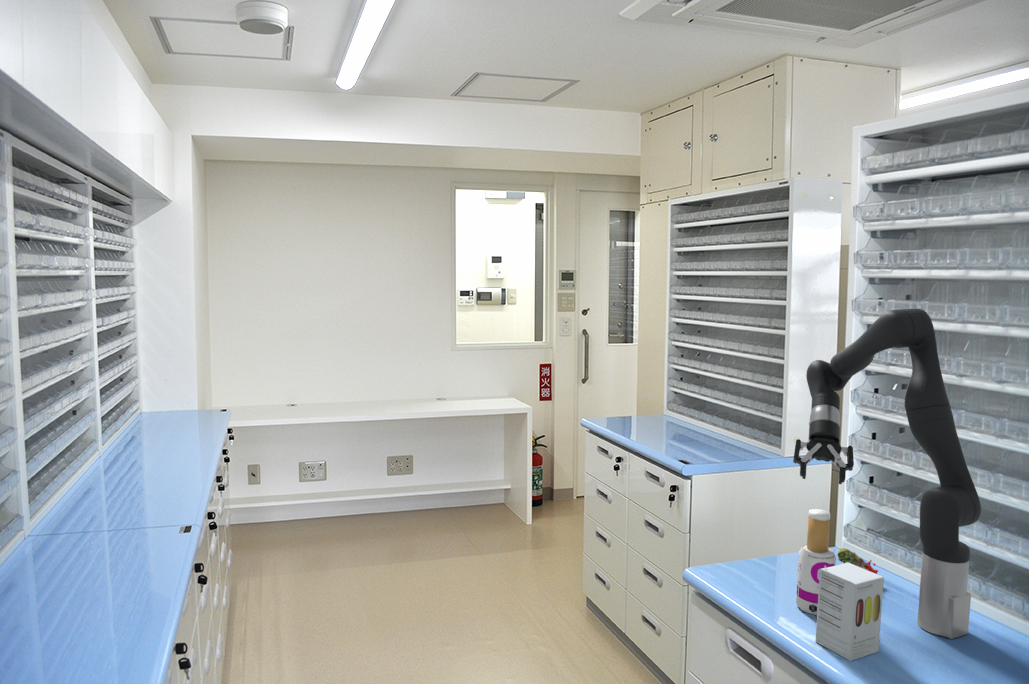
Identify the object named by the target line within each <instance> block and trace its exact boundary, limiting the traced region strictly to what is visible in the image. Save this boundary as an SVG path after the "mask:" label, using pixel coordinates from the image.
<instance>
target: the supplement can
mask: <svg viewBox="0 0 1029 684" xmlns="http://www.w3.org/2000/svg"><path fill="white" fill-rule="evenodd" d="M836 562H837V557H836V554H835V552H834V549H833V548H831V547H830V546H829V548H828V552H823V553H821V552H814V551H811V550H809V549H808V548H807V543H804V544H802V546H801V548H800V549H799V551H798V564H797V565H798V566H797V581H796V583H797V584H796V598H795V600H796V602H795V603H796V606H798V608H799V609H800V610H801V611H802V612H804V613H807V614H810V615H812V616H813V615H815V616H817V610H818V594H819V578H820V569H822V568H827V567H832V566H836V565H837V563H836Z"/></svg>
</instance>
